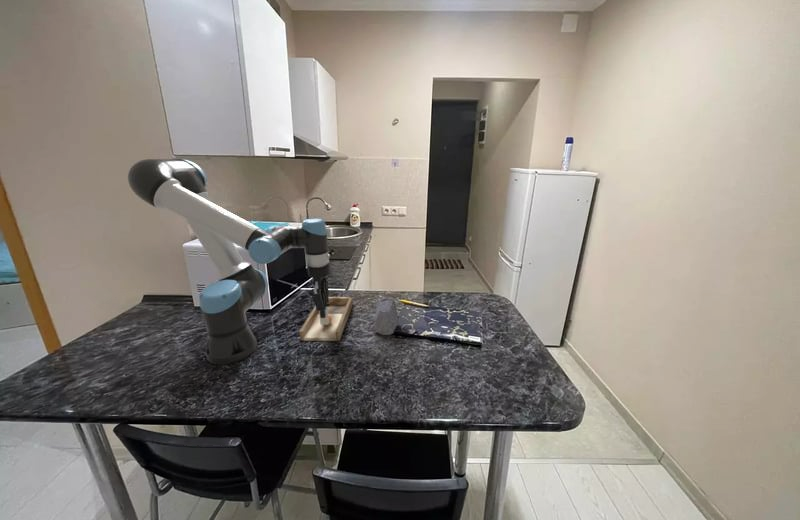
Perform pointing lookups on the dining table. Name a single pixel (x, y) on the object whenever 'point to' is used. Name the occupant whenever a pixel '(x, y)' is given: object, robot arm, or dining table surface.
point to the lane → (332, 331)
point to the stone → (386, 317)
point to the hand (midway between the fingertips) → (324, 323)
